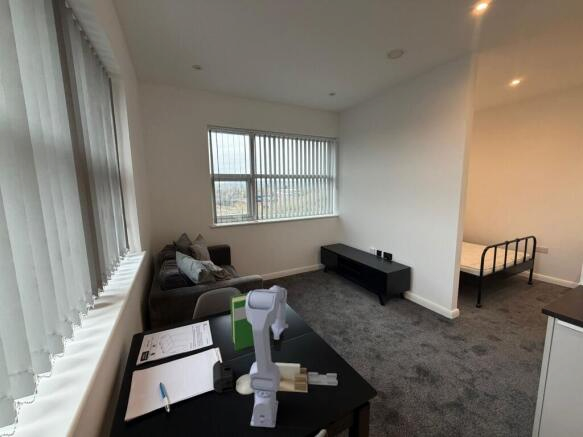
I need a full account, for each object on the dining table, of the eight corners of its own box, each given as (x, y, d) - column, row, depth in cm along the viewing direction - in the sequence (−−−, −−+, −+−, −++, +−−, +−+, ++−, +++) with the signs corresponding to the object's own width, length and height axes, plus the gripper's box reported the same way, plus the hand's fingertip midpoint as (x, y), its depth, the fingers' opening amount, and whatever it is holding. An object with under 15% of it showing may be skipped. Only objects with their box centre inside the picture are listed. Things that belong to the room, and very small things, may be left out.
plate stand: (337, 386, 95) (337, 382, 95) (307, 385, 96) (308, 381, 95) (336, 376, 100) (336, 372, 100) (307, 375, 101) (307, 371, 100)
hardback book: (235, 350, 116) (233, 302, 113) (231, 341, 122) (230, 296, 119) (269, 340, 123) (269, 295, 120) (264, 332, 130) (264, 289, 127)
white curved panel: (299, 379, 98) (299, 366, 97) (274, 377, 98) (274, 365, 97) (299, 376, 99) (299, 363, 98) (275, 374, 100) (275, 362, 99)
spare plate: (256, 396, 91) (256, 393, 91) (232, 394, 92) (232, 391, 91) (261, 377, 100) (261, 374, 100) (239, 376, 101) (239, 373, 100)
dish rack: (307, 393, 92) (307, 385, 91) (265, 391, 93) (265, 382, 92) (307, 375, 101) (307, 367, 100) (269, 373, 102) (269, 365, 101)
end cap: (213, 376, 100) (212, 361, 99) (230, 372, 102) (230, 357, 101) (213, 396, 91) (212, 379, 90) (233, 391, 93) (232, 375, 92)
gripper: (286, 325, 95) (286, 356, 97) (289, 307, 110) (289, 335, 112) (268, 324, 96) (269, 356, 98) (273, 306, 110) (273, 334, 112)
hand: (278, 344), depth 105 cm, fingers open, 7 cm apart
